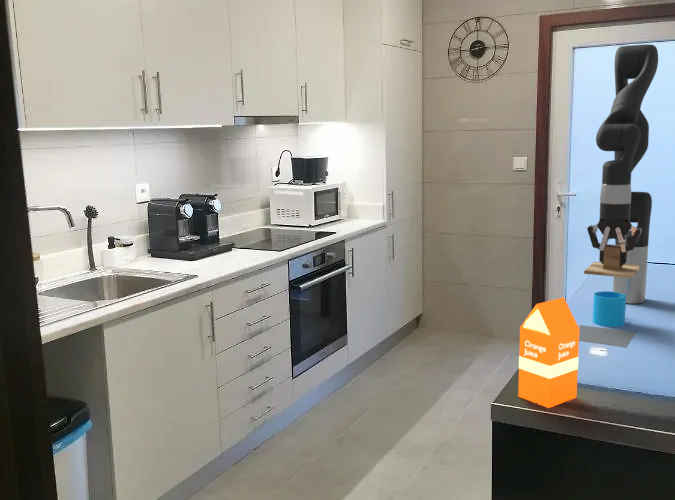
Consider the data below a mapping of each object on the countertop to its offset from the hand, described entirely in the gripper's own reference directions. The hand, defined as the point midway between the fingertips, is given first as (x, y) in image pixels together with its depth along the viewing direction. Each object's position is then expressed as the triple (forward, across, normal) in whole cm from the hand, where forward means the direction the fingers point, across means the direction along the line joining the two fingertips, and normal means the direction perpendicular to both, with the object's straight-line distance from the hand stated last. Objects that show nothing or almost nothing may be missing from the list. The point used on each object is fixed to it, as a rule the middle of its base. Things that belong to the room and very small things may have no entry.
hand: (612, 264), depth 187 cm
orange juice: (+15, 0, +60) cm, 62 cm away
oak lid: (+2, 0, 0) cm, 2 cm away
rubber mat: (+16, -1, +14) cm, 21 cm away
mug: (+17, 0, -1) cm, 17 cm away
